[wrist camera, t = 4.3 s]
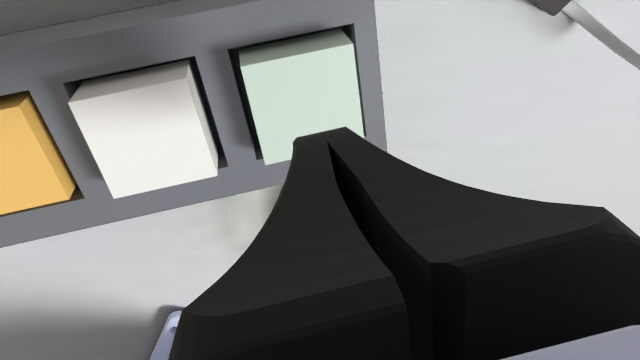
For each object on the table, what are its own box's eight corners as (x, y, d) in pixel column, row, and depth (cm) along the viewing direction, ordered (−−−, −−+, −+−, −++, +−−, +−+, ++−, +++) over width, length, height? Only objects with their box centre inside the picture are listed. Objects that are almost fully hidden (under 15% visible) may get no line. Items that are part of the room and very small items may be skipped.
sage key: (340, 28, 16) (353, 43, 14) (352, 120, 17) (364, 143, 16) (238, 49, 15) (240, 66, 14) (261, 140, 17) (265, 165, 16)
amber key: (38, 84, 15) (18, 106, 14) (82, 172, 17) (69, 199, 16) (-69, 107, 15) (-101, 130, 14) (-13, 193, 17) (-36, 222, 16)
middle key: (189, 59, 15) (185, 78, 14) (217, 150, 17) (217, 175, 16) (83, 81, 15) (67, 102, 14) (123, 171, 17) (113, 198, 15)
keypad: (352, -34, 16) (372, -22, 14) (369, 130, 20) (388, 160, 18) (-109, 57, 15) (-164, 85, 13) (-6, 212, 19) (-36, 255, 17)
